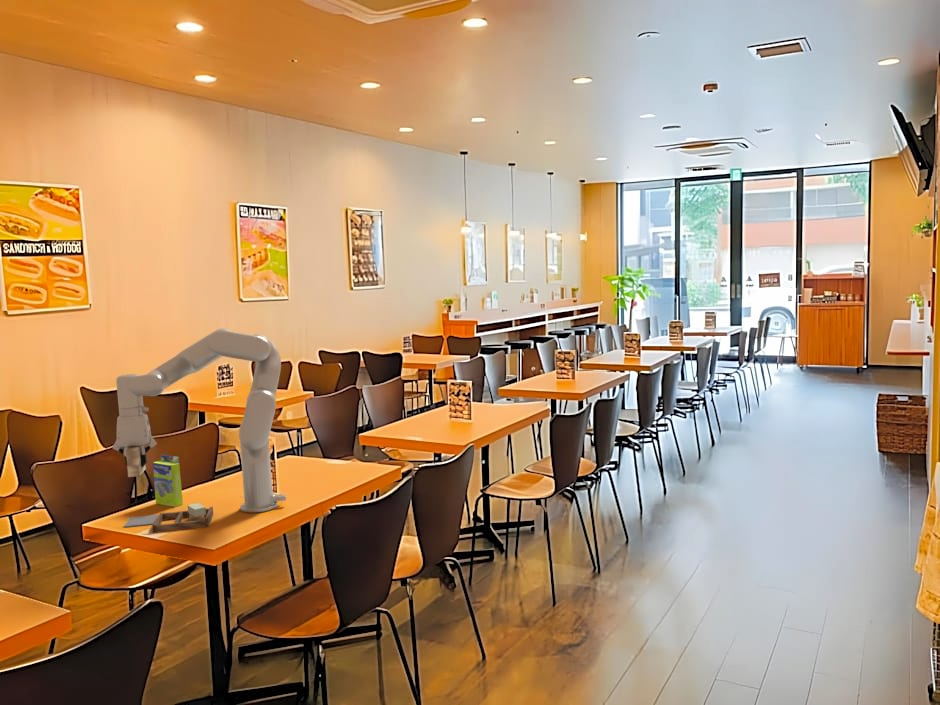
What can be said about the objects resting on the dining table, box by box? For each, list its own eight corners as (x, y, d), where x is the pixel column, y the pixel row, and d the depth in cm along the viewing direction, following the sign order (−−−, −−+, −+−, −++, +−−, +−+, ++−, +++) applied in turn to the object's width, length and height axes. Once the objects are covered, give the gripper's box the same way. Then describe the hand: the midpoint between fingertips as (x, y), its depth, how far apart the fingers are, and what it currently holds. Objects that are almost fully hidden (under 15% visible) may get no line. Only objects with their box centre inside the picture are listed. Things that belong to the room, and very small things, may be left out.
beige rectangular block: (145, 468, 267) (143, 442, 266) (139, 476, 257) (137, 449, 256) (134, 469, 266) (132, 443, 265) (128, 477, 257) (125, 449, 256)
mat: (158, 515, 269) (158, 514, 269) (152, 524, 260) (152, 523, 260) (130, 518, 268) (130, 517, 268) (123, 527, 258) (123, 526, 258)
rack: (213, 513, 269) (212, 506, 268) (208, 526, 255) (208, 518, 255) (160, 519, 265) (160, 511, 265) (152, 532, 252) (152, 524, 251)
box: (155, 504, 284) (151, 456, 282) (165, 501, 287) (161, 454, 286) (174, 507, 278) (170, 459, 277) (184, 504, 282) (180, 456, 280)
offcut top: (198, 510, 265) (197, 502, 264) (206, 514, 259) (205, 507, 259) (188, 512, 262) (187, 505, 262) (195, 517, 257) (194, 509, 257)
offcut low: (204, 517, 266) (203, 509, 266) (204, 525, 258) (203, 516, 257) (189, 519, 265) (189, 510, 264) (190, 527, 256) (189, 518, 256)
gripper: (160, 408, 265) (164, 461, 267) (107, 412, 262) (112, 466, 264) (156, 411, 258) (161, 466, 260) (101, 415, 255) (107, 471, 256)
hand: (136, 466), depth 262 cm, fingers closed on beige rectangular block, 3 cm apart
